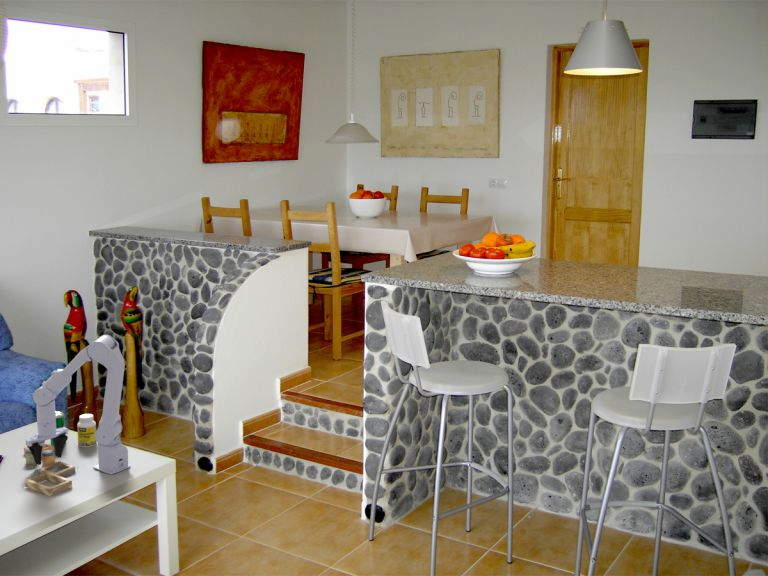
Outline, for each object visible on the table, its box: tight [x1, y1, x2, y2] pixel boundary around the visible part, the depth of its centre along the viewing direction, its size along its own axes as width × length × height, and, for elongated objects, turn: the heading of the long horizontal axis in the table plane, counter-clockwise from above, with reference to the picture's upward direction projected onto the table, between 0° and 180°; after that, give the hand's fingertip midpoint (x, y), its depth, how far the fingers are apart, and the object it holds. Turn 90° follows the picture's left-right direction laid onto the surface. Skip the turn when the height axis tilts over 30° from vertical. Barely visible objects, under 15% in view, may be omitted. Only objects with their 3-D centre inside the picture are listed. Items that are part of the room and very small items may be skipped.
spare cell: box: [24, 448, 37, 466], centre depth 273 cm, size 4×4×5 cm
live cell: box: [41, 449, 56, 467], centre depth 272 cm, size 4×4×5 cm
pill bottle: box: [77, 413, 97, 448], centre depth 290 cm, size 6×6×11 cm
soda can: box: [49, 410, 67, 448], centre depth 289 cm, size 5×5×12 cm
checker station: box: [24, 460, 76, 497], centre depth 261 cm, size 17×16×2 cm
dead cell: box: [39, 440, 46, 449], centre depth 281 cm, size 4×4×5 cm
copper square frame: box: [23, 442, 55, 458], centre depth 281 cm, size 7×7×3 cm
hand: (48, 460), depth 272 cm, fingers open, 7 cm apart
